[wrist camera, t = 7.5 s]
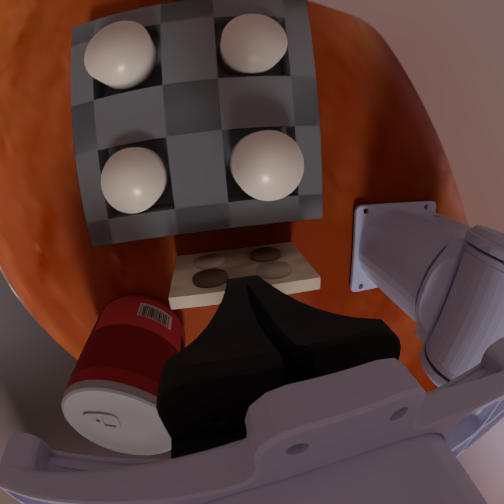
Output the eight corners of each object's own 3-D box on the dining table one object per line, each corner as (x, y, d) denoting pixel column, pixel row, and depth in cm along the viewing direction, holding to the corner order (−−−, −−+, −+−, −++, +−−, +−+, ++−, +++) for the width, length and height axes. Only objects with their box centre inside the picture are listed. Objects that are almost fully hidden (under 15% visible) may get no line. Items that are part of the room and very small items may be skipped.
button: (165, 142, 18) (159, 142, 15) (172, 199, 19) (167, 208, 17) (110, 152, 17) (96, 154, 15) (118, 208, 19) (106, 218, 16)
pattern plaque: (290, 238, 23) (320, 273, 17) (291, 251, 23) (320, 288, 17) (176, 253, 22) (167, 294, 16) (178, 265, 22) (171, 309, 16)
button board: (293, 15, 16) (305, 0, 14) (308, 208, 22) (322, 218, 19) (87, 39, 14) (73, 27, 12) (104, 233, 20) (91, 246, 18)
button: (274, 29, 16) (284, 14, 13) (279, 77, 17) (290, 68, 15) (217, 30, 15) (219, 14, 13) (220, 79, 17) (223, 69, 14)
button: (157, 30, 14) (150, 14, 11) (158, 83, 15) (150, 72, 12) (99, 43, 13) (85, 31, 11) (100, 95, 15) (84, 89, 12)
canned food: (88, 297, 22) (39, 386, 12) (173, 283, 23) (158, 383, 13) (118, 363, 25) (96, 454, 15) (194, 354, 26) (197, 454, 16)
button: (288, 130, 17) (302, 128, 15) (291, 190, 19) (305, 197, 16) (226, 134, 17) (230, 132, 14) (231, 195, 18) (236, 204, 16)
